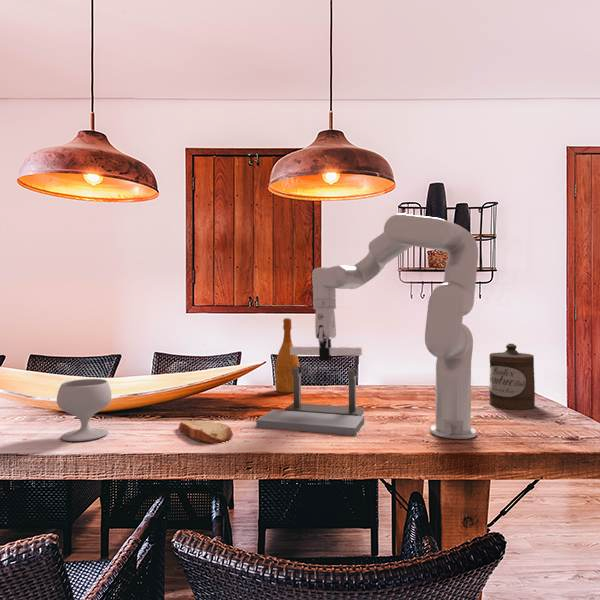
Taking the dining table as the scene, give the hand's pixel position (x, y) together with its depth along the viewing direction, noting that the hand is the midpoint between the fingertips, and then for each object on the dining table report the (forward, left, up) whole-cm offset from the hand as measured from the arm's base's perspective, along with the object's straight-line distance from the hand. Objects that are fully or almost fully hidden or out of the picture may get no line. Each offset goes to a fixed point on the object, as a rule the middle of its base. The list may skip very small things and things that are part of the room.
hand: (325, 359), depth 162 cm
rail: (0, 0, +2) cm, 2 cm away
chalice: (-46, +57, -18) cm, 76 cm away
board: (-16, 0, -18) cm, 24 cm away
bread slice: (-34, +27, -19) cm, 47 cm away
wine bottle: (+32, +24, -18) cm, 44 cm away
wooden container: (+31, -61, -18) cm, 71 cm away
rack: (0, 0, -18) cm, 18 cm away
